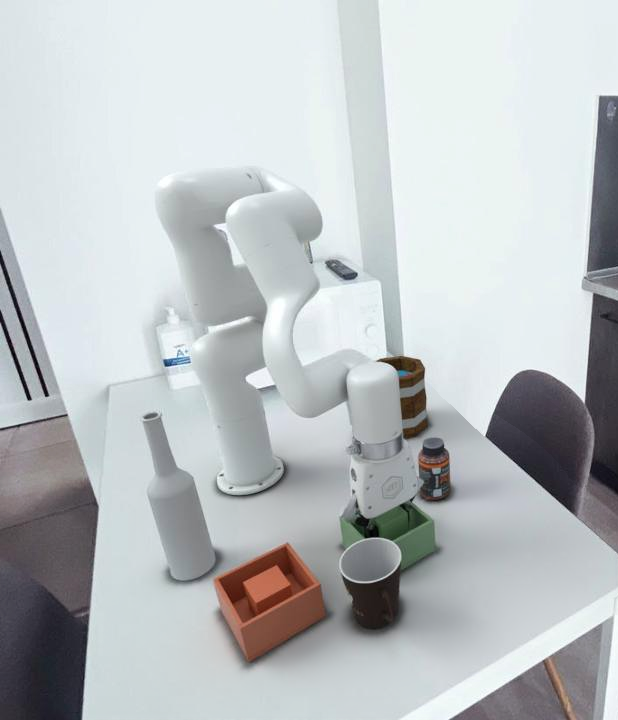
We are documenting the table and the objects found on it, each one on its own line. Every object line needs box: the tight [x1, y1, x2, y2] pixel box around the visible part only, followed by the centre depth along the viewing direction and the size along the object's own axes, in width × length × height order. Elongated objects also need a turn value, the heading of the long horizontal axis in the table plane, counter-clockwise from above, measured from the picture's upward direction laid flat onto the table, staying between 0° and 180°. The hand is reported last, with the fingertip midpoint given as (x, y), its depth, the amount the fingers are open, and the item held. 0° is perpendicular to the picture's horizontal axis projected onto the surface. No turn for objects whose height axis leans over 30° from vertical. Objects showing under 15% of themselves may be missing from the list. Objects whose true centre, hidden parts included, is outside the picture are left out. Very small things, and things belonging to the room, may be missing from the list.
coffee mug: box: [338, 538, 402, 631], centre depth 77 cm, size 12×9×10 cm
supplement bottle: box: [417, 436, 451, 501], centre depth 103 cm, size 6×6×11 cm
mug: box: [345, 355, 429, 440], centre depth 124 cm, size 20×14×15 cm
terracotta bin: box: [212, 542, 327, 663], centre depth 79 cm, size 11×11×6 cm
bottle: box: [139, 410, 217, 582], centre depth 83 cm, size 7×7×28 cm
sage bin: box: [338, 502, 436, 572], centre depth 91 cm, size 11×11×6 cm
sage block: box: [375, 505, 409, 541], centre depth 90 cm, size 5×5×5 cm
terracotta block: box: [243, 565, 293, 617], centre depth 79 cm, size 5×5×5 cm
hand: (388, 533), depth 91 cm, fingers closed on sage block, 5 cm apart
